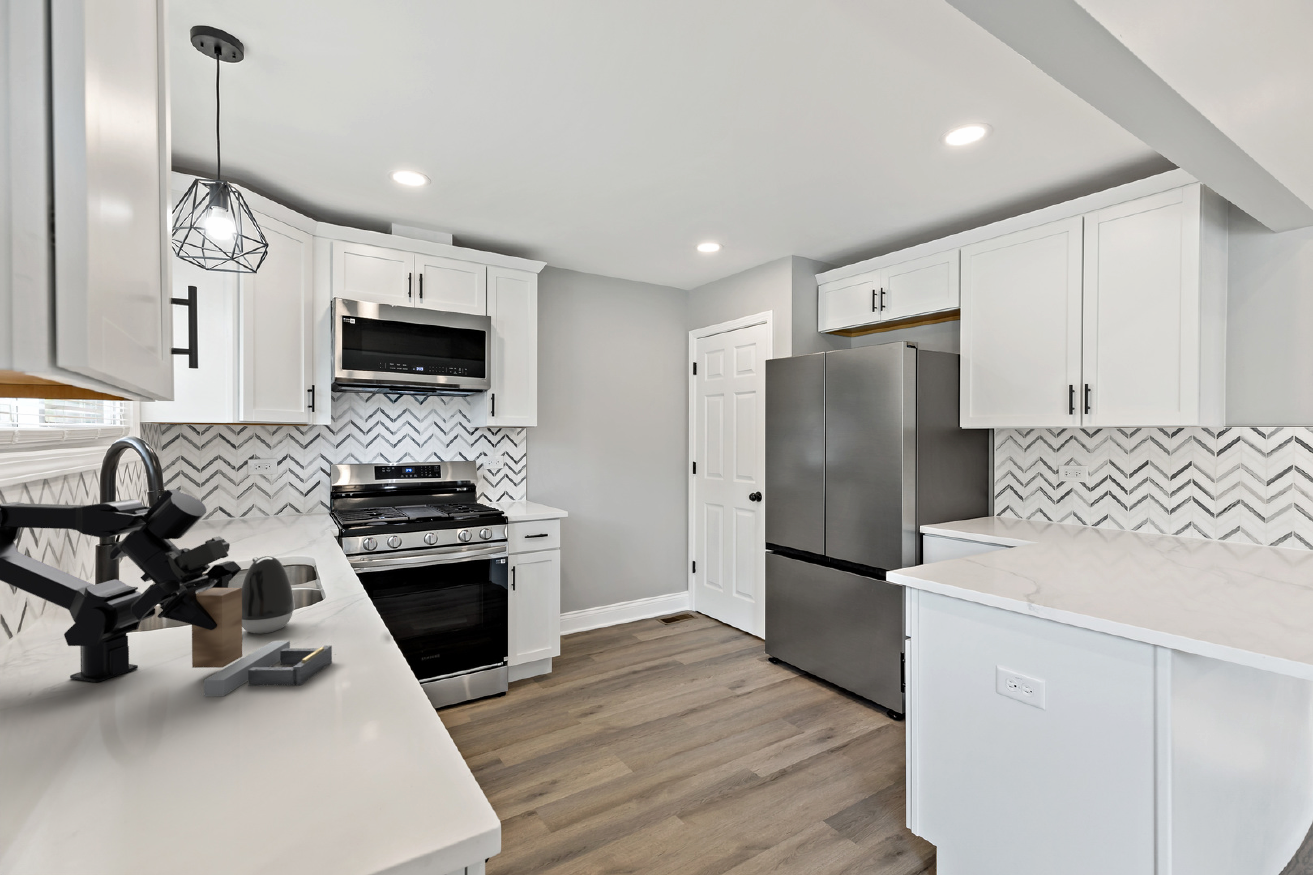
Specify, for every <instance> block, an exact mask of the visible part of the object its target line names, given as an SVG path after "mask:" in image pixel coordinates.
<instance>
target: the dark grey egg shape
mask: <svg viewBox="0 0 1313 875" xmlns="http://www.w3.org/2000/svg"><path fill="white" fill-rule="evenodd" d="M251 561H252V563H251V564H250V566H249V568H248V569H247V571H246V573H245V576H244V578H243V581H242V583H241V587H240V588H242V629H243V630H245V631H246V632H248V633H252V634H258V635H259V634H269V633H273V632H276V631H279V630H280V629H283V628H284V627H285V626H286V625H288V623H289V622H290V620H291V618H292V616H293V612H294V610H295V608H296V606H295V598H294V593H293V588H292V585H291V581H290V579H289V576H288V573H287V571H286V569H285V567H284V565H283V564H282V562H280V560H279V559H277V558H275V557H274V556H268V555H267V556H261V557H259V558H258V557H253V558H252V560H251Z"/></svg>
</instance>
